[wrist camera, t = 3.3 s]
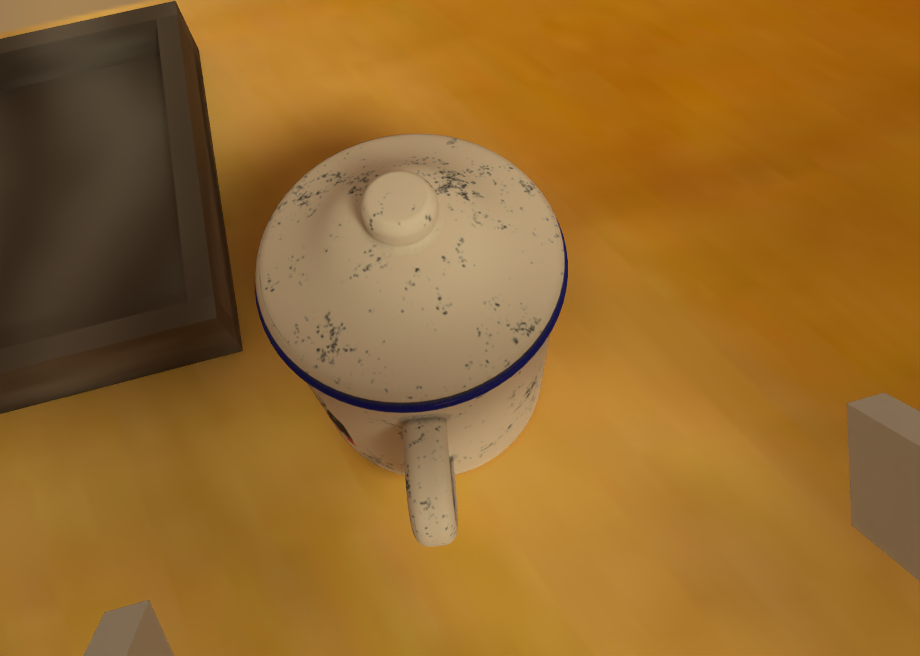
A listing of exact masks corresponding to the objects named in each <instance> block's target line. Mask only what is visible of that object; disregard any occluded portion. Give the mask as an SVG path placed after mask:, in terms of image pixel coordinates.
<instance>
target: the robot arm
mask: <svg viewBox="0 0 920 656" xmlns="http://www.w3.org/2000/svg"><path fill="white" fill-rule="evenodd" d="M847 420H848V446H849V472H850V499H851V525H852V526H853V527H855V528H856V529H857V530H858V531H859V532H861V533H862V534H863V535H864V536H865V537H867V538H868V539H869V540H870V541H872V542H873V543H874V544H875V545H876V546H878V547H879V548H880V549H881V550H882V551H884V552H885V553H886V554H887V555H889V556H890V557H891V558H892V559H893V560H895V561H896V562H897V563H898V564H899V565H901V566H902V567H903V568H904V569H906V570H907V571H908V572H909V573H910V574H912V575H913V576H914V577H915V578H916V579H918V580H919V581H920V411H918V410H916V409H914V408H912V407H910V406H908V405H907V404H905V403H903V402H901V401H899V400H897V399H895V398H893V397H891V396H889V395H888V394H886V393H882V394H878V395H875V396H871V397H868V398H864V399H860V400H857V401H853V402H850V403H847ZM84 656H174V654H173V652H172V650H171V647H170V645H169V643H168V641H167V639H166V636H165V634H164V632H163V630H162V628H161V625H160V623H159V621H158V619H157V617H156V614H155V612H154V610H153V608H152V606H151V603H150V601H149V600H147V601H143V602H140V603H136V604H133V605H129V606H126V607H122V608H119V609H115V610H111V611H108V612H105V613H104V615H103V617H102V619H101V621H100V623H99V625H98V627H97V629H96V631H95V633H94V635H93V637H92V639H91V641H90V643H89V646H88V648H87V650H86V652H85V654H84Z"/></svg>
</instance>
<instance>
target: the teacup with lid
mask: <svg viewBox="0 0 920 656" xmlns="http://www.w3.org/2000/svg"><path fill="white" fill-rule="evenodd" d="M567 278H568V260H567V251H566V246H565V241H564V237H563V234H562V231H561V228H560V226H559V223H558V221H557V219H556V217H555V215H554V213H553V211H552V209H551V207H550V205H549V203H548V201H547V200H546V198H545V197H544V195H543V194H542V192H541V191H540V190H539V189H538V187H537V186H536V185H535V184H534V183H533V182H532V181H531V180H530V179H529V178H528V177H527V176H526V175H525V174H524V173H523V172H522V171H521V170H520V169H518V168H517V167H516V166H515V165H513V164H512V163H511V162H509V161H508V160H506V159H505V158H503V157H502V156H500V155H498V154H496V153H495V152H493V151H491V150H489V149H486V148H484V147H482V146H480V145H477V144H474V143H471V142H469V141H465V140H461V139H458V138H453V137H448V136H442V135H432V134H402V135H394V136H387V137H382V138H377V139H373V140H370V141H366V142H363V143H360V144H357V145H355V146H352V147H349V148H347V149H345V150H343V151H341V152H338V153H336V154H335V155H333V156H331V157H329V158H327V159H326V160H324V161H323V162H321V163H320V164H318V165H317V166H315V167H314V168H313V169H311V170H310V171H309V172H308V173H306V174H305V175H304V176H303V177H302V178H301V179H300V180H299V181H298V182H296V183H295V184H294V185H293V187H292V188H291V189H290V190H289V191H288V192H287V193H286V195H285V196H284V197H283V199H282V200H281V201H280V203H279V204H278V206H277V207H276V209H275V211H274V212H273V214H272V216H271V218H270V220H269V222H268V224H267V226H266V228H265V230H264V233H263V236H262V239H261V242H260V245H259V249H258V254H257V260H256V269H255V295H256V304H257V308H258V312H259V316H260V319H261V322H262V325H263V328H264V330H265V332H266V334H267V336H268V338H269V340H270V342H271V344H272V345H273V347H274V348H275V350H276V351H277V353H278V354H279V356H280V357H281V358H282V359H283V361H284V362H285V363H286V364H287V365H288V367H290V368H291V369H292V370H293V371H294V372H295V373H296V374H297V375H298V376H299V377H300V378H302V379H303V380H304V381H306V382H307V383H308V384H309V386H310V387H311V389H312V390H313V392H314V394H315V395H316V397H317V398H318V400H319V401H320V403H321V404H322V406H323V407H324V409H325V410H326V412H327V414H328V415H329V417H330V418H331V420H332V421H333V423H334V424H335V426H336V427H337V429H338V430H339V432H340V433H341V435H342V436H343V437H344V439H345V440H346V441H347V442H348V443H349V444H350V445H351V446H352V447H353V448H354V449H355V450H356V451H357V452H358V453H360V454H361V455H362V456H363V457H365V458H366V459H368V460H369V461H371V462H373V463H374V464H376V465H378V466H380V467H382V468H384V469H387V470H390V471H392V472H395V473H399V474H403V475H405V480H406V491H407V501H408V509H409V516H410V522H411V527H412V531H413V534H414V536H415V538H416V539H417V541H418V542H419V543H420V544H422V545H424V546H428V547H432V546H443V545H447V544H450V543H451V542H452V541H453V540H454V539H455V537H456V535H457V530H458V515H457V497H456V484H455V474H460V473H463V472H466V471H469V470H472V469H474V468H476V467H479V466H481V465H483V464H485V463H486V462H488V461H490V460H492V459H493V458H495V457H496V456H497V455H499V454H500V453H501V452H503V451H504V450H505V449H506V448H507V447H508V446H509V445H510V444H511V443H512V442H513V441H514V440H515V439H516V438H517V437H518V436H519V434H520V433H521V432H522V430H523V429H524V427H525V426H526V424H527V422H528V421H529V419H530V417H531V415H532V413H533V411H534V409H535V406H536V403H537V400H538V396H539V392H540V387H541V382H542V376H543V370H544V364H545V359H546V353H547V347H548V341H549V336H550V333H551V331H552V329H553V327H554V325H555V323H556V321H557V319H558V316H559V314H560V311H561V308H562V305H563V302H564V297H565V293H566V287H567Z"/></svg>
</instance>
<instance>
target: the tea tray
mask: <svg viewBox="0 0 920 656" xmlns="http://www.w3.org/2000/svg"><path fill="white" fill-rule="evenodd" d="M239 351H243V349H242V343H241V336H240V329H239V322H238V315H237V308H236V302H235V295H234V288H233V281H232V274H231V267H230V260H229V254H228V247H227V240H226V233H225V226H224V219H223V213H222V206H221V199H220V192H219V185H218V178H217V171H216V165H215V158H214V151H213V144H212V137H211V130H210V124H209V117H208V110H207V103H206V96H205V89H204V82H203V76H202V69H201V62H200V55H199V50H198V47H197V45H196V43H195V41H194V39H193V37H192V35H191V33H190V31H189V29H188V26H187V24H186V22H185V20H184V18H183V16H182V14H181V12H180V10H179V8H178V5H177V3H176V1H172V2H168V3H163V4H158V5H154V6H149V7H145V8H140V9H135V10H131V11H126V12H122V13H117V14H113V15H108V16H103V17H99V18H94V19H90V20H85V21H80V22H76V23H71V24H67V25H62V26H57V27H53V28H48V29H44V30H39V31H35V32H30V33H25V34H21V35H16V36H12V37H7V38H2V39H0V414H1V413H5V412H9V411H13V410H17V409H21V408H24V407H28V406H32V405H36V404H40V403H44V402H47V401H51V400H55V399H59V398H63V397H67V396H70V395H74V394H78V393H82V392H86V391H90V390H93V389H97V388H101V387H105V386H109V385H113V384H116V383H120V382H124V381H128V380H132V379H136V378H139V377H143V376H147V375H151V374H155V373H159V372H162V371H166V370H170V369H174V368H178V367H182V366H185V365H189V364H193V363H197V362H201V361H205V360H208V359H212V358H216V357H220V356H224V355H228V354H232V353H235V352H239Z"/></svg>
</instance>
